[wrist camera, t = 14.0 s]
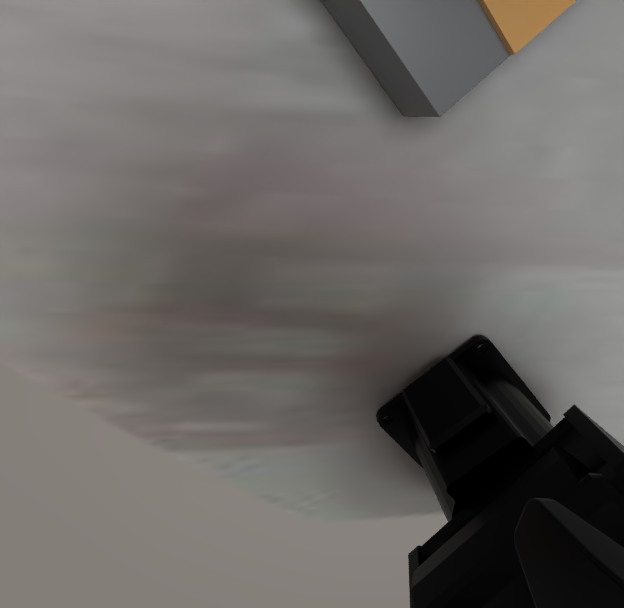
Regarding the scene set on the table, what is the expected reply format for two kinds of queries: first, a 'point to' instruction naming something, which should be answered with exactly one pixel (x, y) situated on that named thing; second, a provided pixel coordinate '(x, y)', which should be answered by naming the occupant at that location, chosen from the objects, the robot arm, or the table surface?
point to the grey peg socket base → (438, 43)
